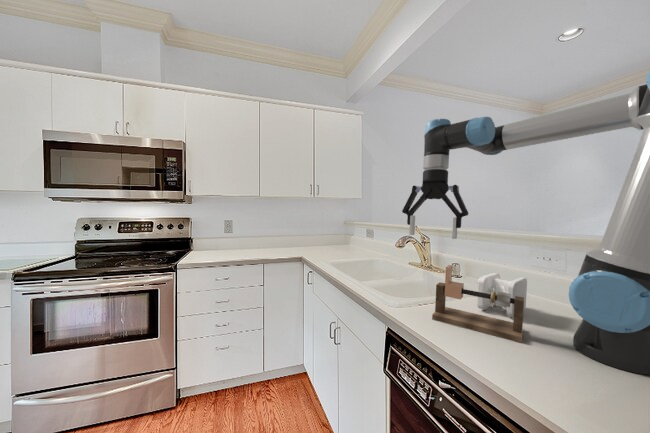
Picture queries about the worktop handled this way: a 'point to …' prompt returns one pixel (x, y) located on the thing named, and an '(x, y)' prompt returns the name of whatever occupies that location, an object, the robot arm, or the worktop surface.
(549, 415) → the worktop surface
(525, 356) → the worktop surface
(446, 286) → the tan wooden l-shaped block
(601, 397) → the worktop surface
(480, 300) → the cable organizer
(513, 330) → the brown rod stand
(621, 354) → the robot arm
